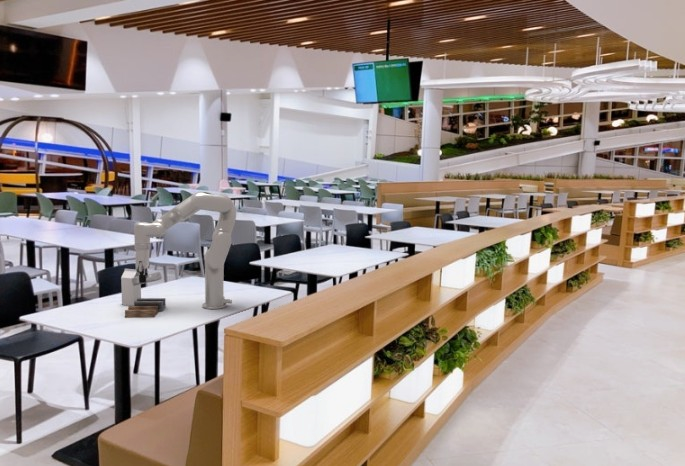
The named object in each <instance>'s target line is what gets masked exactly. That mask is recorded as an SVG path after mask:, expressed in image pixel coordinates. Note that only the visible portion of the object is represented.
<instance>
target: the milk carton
mask: <svg viewBox="0 0 685 466" xmlns="http://www.w3.org/2000/svg"><path fill="white" fill-rule="evenodd" d="M135 277H139V271H138V269H136V268H135V269H134V268H133V269H132V268H124V271H123V273H122V275H121V277H120V280H121V283H120V285H121V286H120V287H121V305H122V306H128V307H129V306H134V302H135V301H137V299H138V298H142V287H141V286H142V284H140V285H135V286H134V285H133V283H132V278H135Z"/></svg>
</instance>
